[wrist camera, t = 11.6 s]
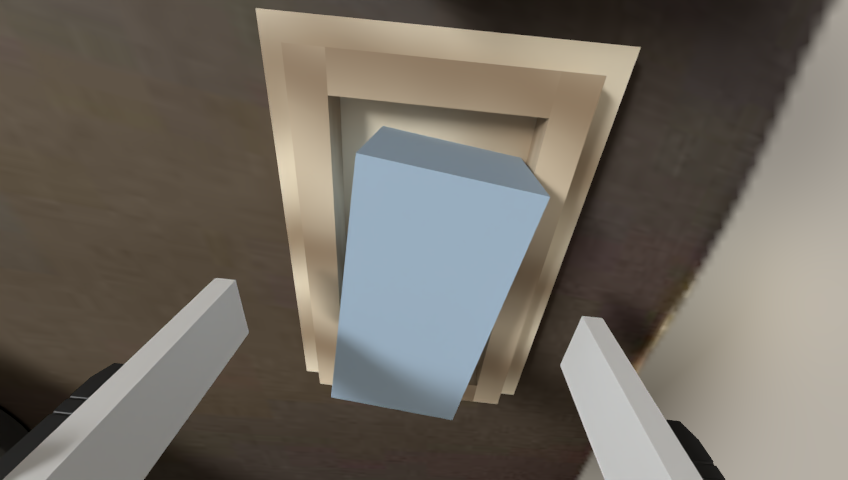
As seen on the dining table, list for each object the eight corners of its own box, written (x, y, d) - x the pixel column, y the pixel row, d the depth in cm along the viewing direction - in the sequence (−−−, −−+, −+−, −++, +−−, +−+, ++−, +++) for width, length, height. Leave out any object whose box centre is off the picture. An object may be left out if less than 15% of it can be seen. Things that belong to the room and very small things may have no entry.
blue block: (382, 125, 13) (355, 153, 9) (520, 157, 14) (550, 196, 10) (354, 328, 19) (331, 396, 15) (451, 347, 19) (452, 420, 16)
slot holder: (510, 379, 22) (517, 416, 20) (313, 356, 22) (297, 390, 20) (624, 48, 12) (665, 45, 10) (271, 12, 13) (231, 1, 10)
